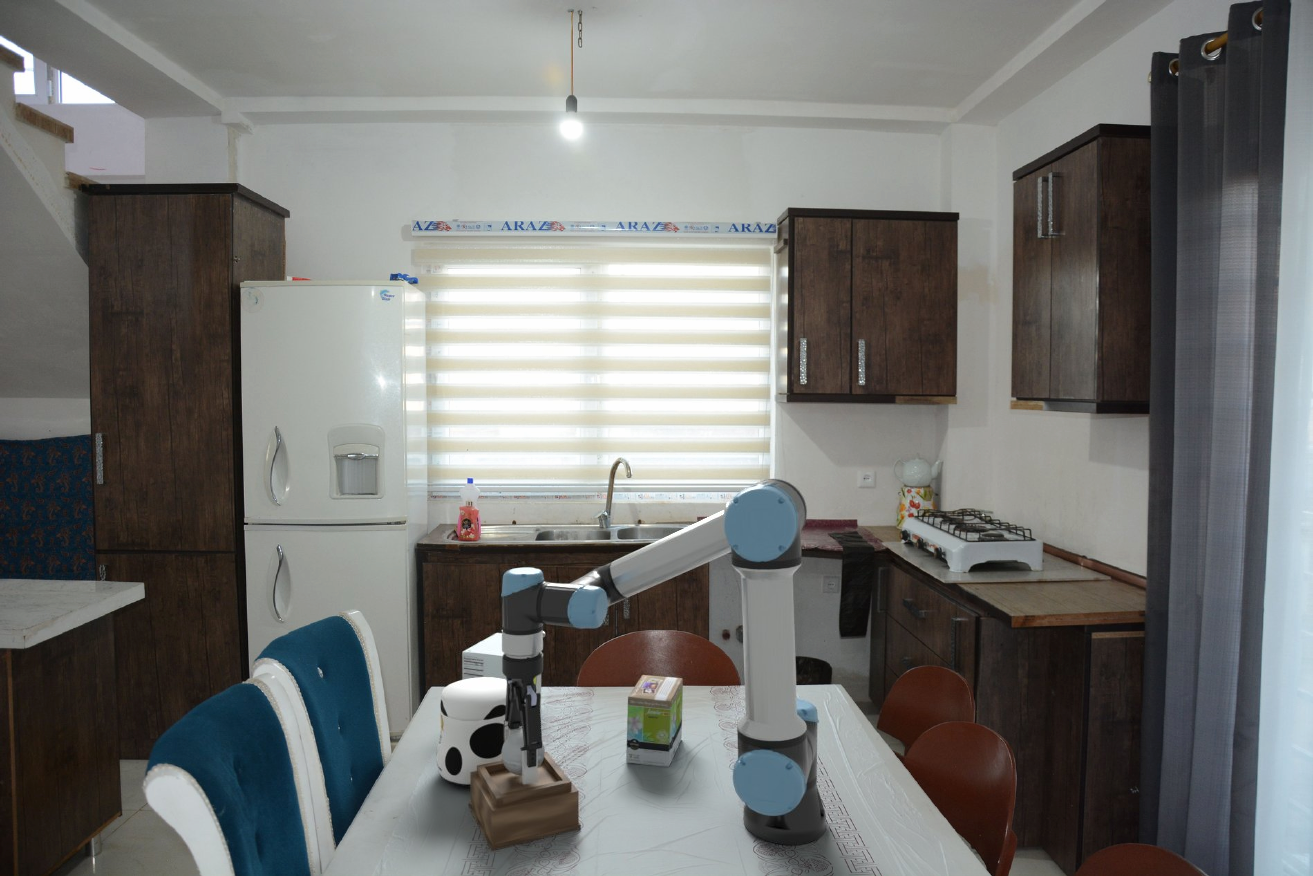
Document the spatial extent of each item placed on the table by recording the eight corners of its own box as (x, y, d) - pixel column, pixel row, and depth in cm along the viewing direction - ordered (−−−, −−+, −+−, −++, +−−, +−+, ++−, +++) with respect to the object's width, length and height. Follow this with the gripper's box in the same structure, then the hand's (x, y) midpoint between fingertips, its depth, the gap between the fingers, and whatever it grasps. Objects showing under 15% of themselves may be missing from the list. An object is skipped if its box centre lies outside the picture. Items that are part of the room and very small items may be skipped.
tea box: (671, 768, 173) (671, 700, 172) (625, 763, 175) (625, 696, 174) (682, 739, 188) (683, 676, 187) (640, 735, 190) (640, 673, 189)
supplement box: (510, 733, 190) (510, 657, 189) (461, 726, 194) (460, 651, 193) (543, 706, 207) (543, 636, 206) (496, 700, 211) (496, 631, 210)
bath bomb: (553, 774, 152) (553, 732, 151) (517, 788, 146) (517, 744, 146) (528, 759, 158) (528, 719, 157) (493, 772, 152) (493, 731, 152)
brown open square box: (580, 828, 149) (580, 783, 148) (491, 851, 141) (491, 803, 141) (550, 789, 163) (550, 747, 163) (468, 807, 156) (468, 764, 156)
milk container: (432, 763, 175) (432, 681, 174) (513, 751, 181) (512, 671, 180) (441, 800, 159) (440, 710, 158) (529, 786, 165) (528, 699, 164)
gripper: (560, 666, 143) (560, 792, 144) (525, 634, 162) (525, 746, 163) (519, 672, 140) (519, 801, 141) (488, 639, 158) (488, 753, 159)
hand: (522, 772), depth 152 cm, fingers closed on bath bomb, 8 cm apart
